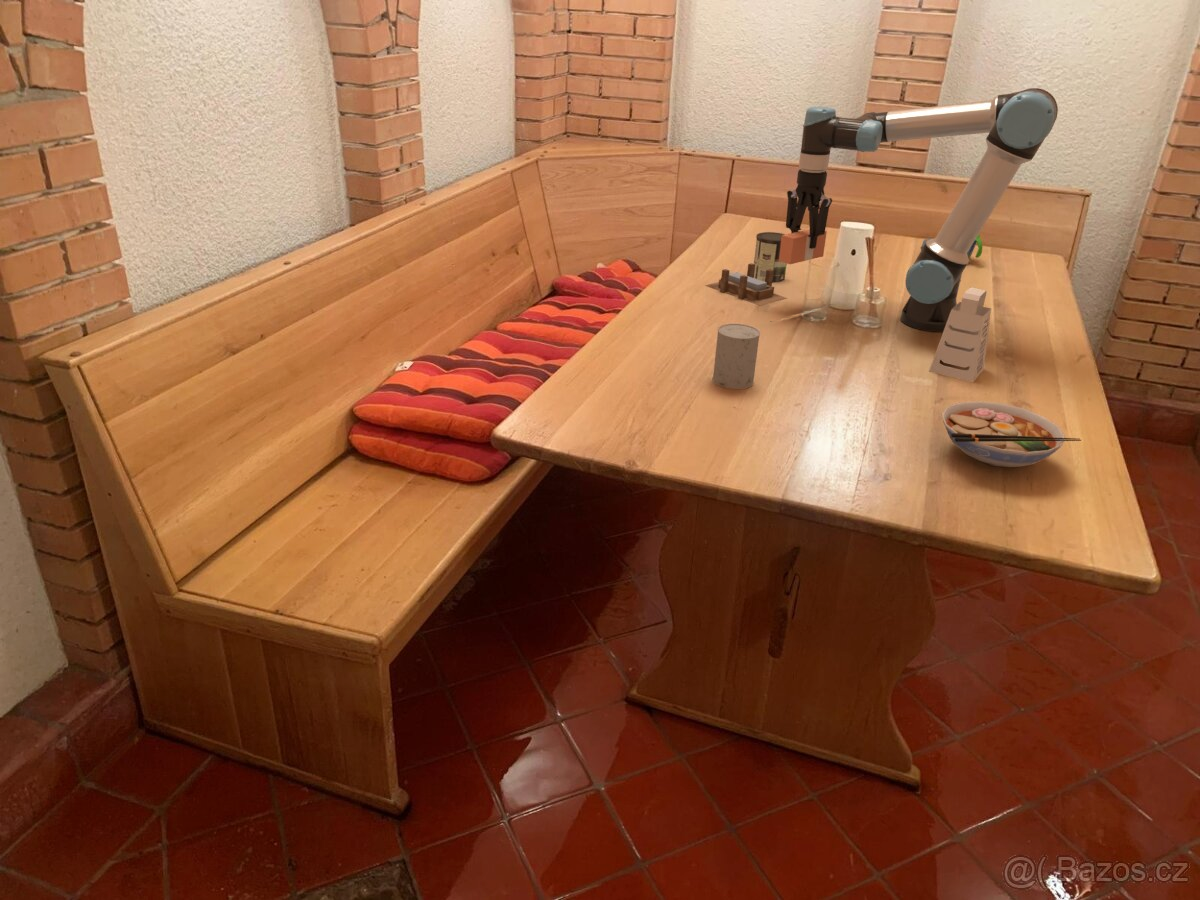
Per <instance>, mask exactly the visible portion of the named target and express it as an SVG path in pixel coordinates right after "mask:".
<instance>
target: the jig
mask: <svg viewBox="0 0 1200 900" xmlns="http://www.w3.org/2000/svg"><path fill="white" fill-rule="evenodd" d="M773 272H774V270H771V269H768V270H766V277H765V282H767V288H766V289H764V290H760V291H756V290H753V289H750V288H747V279H748V276H749V277H752V278H754V273H755V264H754V263H752V262H751V263H748V264H747V273H746V274H743V276H740V283H739V284H736V283H733V282H730V281H728V280H729V274H730V269H727V268H725V269H721V277H720V279H719V280H718V281H717V282H713V283H708V284H705V285H704V286H705V287H708V288H711V289H713V290H716V291H718V292H721V293H722V294H724V293H725V294H727V295H729V296H732V297H735V298H737V299H739V300H743V301H745V302H749V303H752V304H754V305H758V306H765V305H767V304H771V303H775V302H779V301H782V300H785V299H786V300H787V299H788V298H787V297H785V296H782V295H779V294H776V293H775V292H774V291H775V287H774V286H772V285H773V282H772V279H773ZM745 275H746V276H745Z"/></svg>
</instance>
